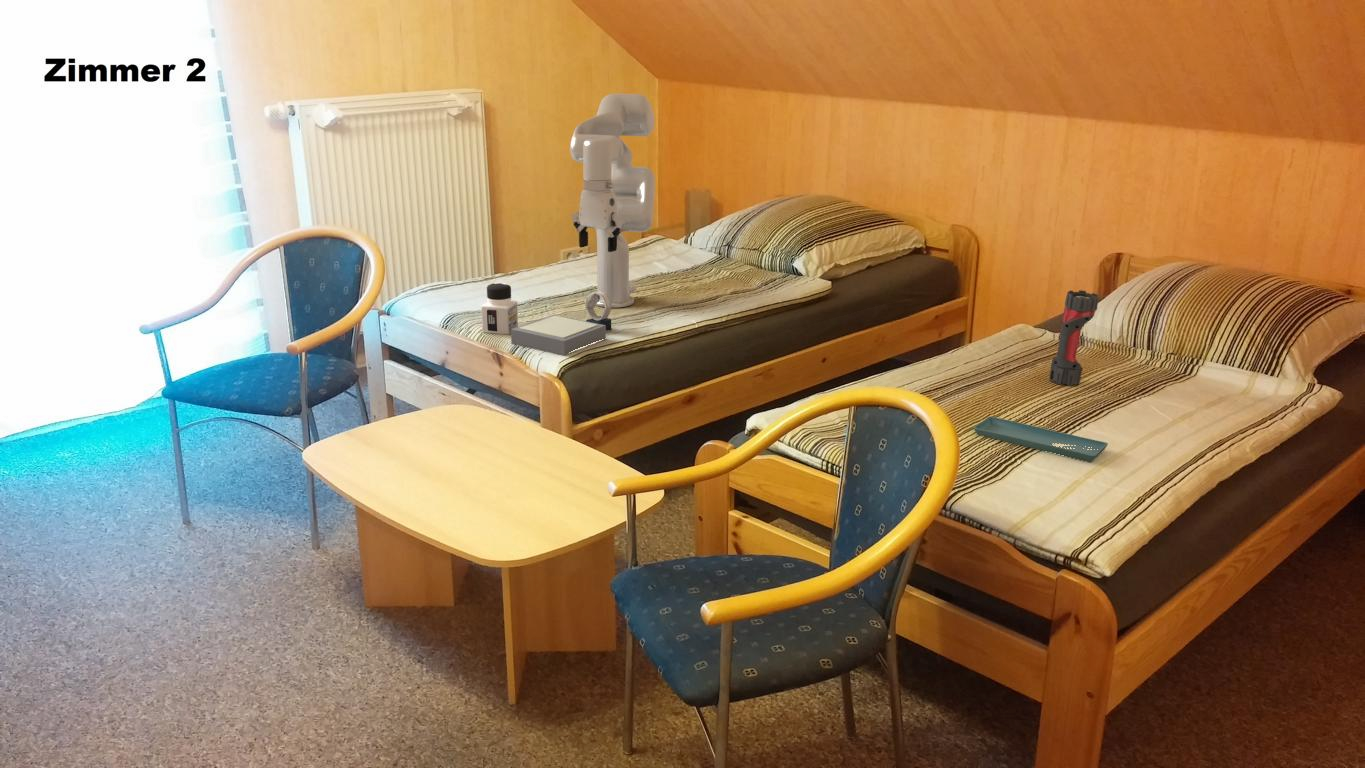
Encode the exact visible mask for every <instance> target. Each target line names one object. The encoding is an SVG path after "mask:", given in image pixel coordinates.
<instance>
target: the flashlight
mask: <svg viewBox="0 0 1365 768" xmlns="http://www.w3.org/2000/svg"><path fill="white" fill-rule="evenodd" d="M1098 296H1099V295H1098V294H1097V293H1095V292H1093V293H1088V292H1087V291H1086V290H1081V289H1080V290H1078V291H1074V290H1069V291H1067V294H1066V298H1065V301H1064V302H1065V303H1064V309H1063V314H1062V323H1061V329H1060V335H1059V339H1058V340H1059V342H1058V346H1057V347H1058V348H1057V352H1056V356H1055V357H1053V358H1052V360H1051V365H1050V372H1049V379H1048V380H1049V382H1053V383H1055V384H1056V385H1060V386H1061V385H1062V384H1063V385H1066V386H1067V387H1072V386H1073V385H1077V386H1079V385H1080V383H1081V379H1082V378H1081V377H1082V372H1083V369H1084V368H1083V367H1082V365H1081V364H1080V363H1079V362H1078V361H1077V351H1078V348H1079V343H1080V339H1081V338H1080V336H1081V331H1082V329H1083V327H1084V326H1085V325H1086V324H1087V323H1088V322H1090V321H1092V320H1093V318H1094V317H1095V313H1096V311H1097V310H1098V302H1099V297H1098Z"/></svg>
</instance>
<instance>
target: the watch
mask: <svg viewBox="0 0 1365 768" xmlns="http://www.w3.org/2000/svg"><path fill="white" fill-rule="evenodd" d="M600 296H601V297H602V299H603V300H604V303H605V307H603V311H602V314H601V315H600V316H598V315H597V313H596V311H595V309H594V308H595V307H596V306H597V305H596V304H597V303H598V302H599V300H600ZM583 304H584V305H585V310H586V312H587V314H588V316H589V317H590V318H589V319H588V318H587V319H586V320H585V321H587V322H592V323H597V324H602V325H606V332H608V330H609V331H611V330H612V318H609V315H610V314H611V309H612V308H611V303H610V299H609V297H608V295H607V294H606V293H605V292H602V291H599V292H597V291H596V290H595V291H592V292H590V293H589V294H588V295H587V296H586V297H585V299H584V303H583ZM607 304H608V305H607Z"/></svg>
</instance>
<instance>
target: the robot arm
mask: <svg viewBox="0 0 1365 768" xmlns="http://www.w3.org/2000/svg"><path fill="white" fill-rule="evenodd" d="M654 114H655V113H654V111H653V108H652V105H651V102H650V101H649V99H648V98H647V97H646V96H645V95H643V94H639V93H610V94H608V95H607V94H606V95H605V96H604V97H603V98H602V99H601V102H599V107H598V109H597V114H596V115H595V116H592V117H590V118H588V119H586V120H584V121H582V122H580V123H579V124H577V125H576V127H575V129H574V130H573V134H572V137H571V139H570V143H569V144H570V145H569V153H570V157H571V158H572V160H573V161H574V162H576V163H583V165H582V166H583V168H582V169H583V178H582V179H583V189H582V190H581V195H580V200H579V211H577V212H575V213H573V214H571V216H570V218H571V220H572V223H573V226H574V227H575V229H576V232H577V233H578V246H579V248H585V247H588V246H589V231H587V230H588V229H589V228H590V229H595V232H596V247H597V248H596V258H597V259H596V261H597V262H596V263H597V264H596V265H597V266H596V267H597V274H596V275H597V278H596V279H597V280H596V281H597V283H596V285H597V289H596V290H597V292H599V291H602V292H605V293H606V294H607V295H608V297H609V299H610V303H611V309H612V308H625V307H628V306H632V305H633V304H634V303H635V299H634V298H633V296H631V293H633V292H637V286H636V285H635V284H633V285H630V264H629V263H630V246H629V242H628V241H627V239H626V238H625V236H624V235H623V234H622V233H624V232H626V233H629V232H631V233H645V232H648V231H650V230H651V228H652V227H653V222H654V221H653V220H654V209H655V195H656V194H655V192H656V177H655V174H654V172H653V170H652V169H651V168H648V167H645V166H632V165H633V153H632V149H631V148H630V147H629V146H628V144H626V142H625V140H623V139H622V138H621V137H649V136H650V135H651V134H652V133H653V132H654V130H655V115H654ZM607 305H608V304H607ZM595 306H597V307H600V308H601V307H602V308H605V303H604V300H603V299H602V297H601V296H600V300H599V302H598V303H597V304H596V305H595Z"/></svg>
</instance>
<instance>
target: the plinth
mask: <svg viewBox="0 0 1365 768" xmlns="http://www.w3.org/2000/svg"><path fill="white" fill-rule="evenodd" d="M605 338H606V339H607V331H606V325H602V324H597V323H592V322H587V321H586V320H581V319H577V318H573V317H568V316H567V317H566V316H562V315H558V314H551V315H549V316H546V317H543V318H539V319H536V320H533V321H532V322H529V323H528V322H527V323H525V324H522V325H518V327H516V328H513V329H511V333H510V339H511V340H510V341H511V343H510V344H511V345H516V346H520V347H524V348H529V349H534V350H538V351H542V352H547V353H551V354H553V355H554V354H555V355H559V356H563V357H566V356H567V355H566V354H568V353H569V352H571V351H573V350H575V349H578V348H580V347H583V346H586V345H588V344H591V343H593V342H596V341H599V340H602V339H605ZM568 355H569V354H568Z"/></svg>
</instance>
